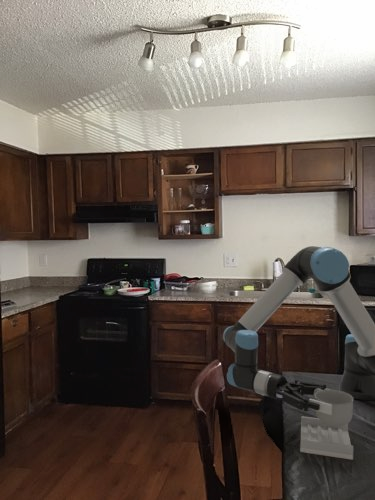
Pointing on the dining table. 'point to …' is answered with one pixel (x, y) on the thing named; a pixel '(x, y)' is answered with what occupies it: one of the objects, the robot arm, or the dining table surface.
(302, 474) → the dining table surface
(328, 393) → the teacup
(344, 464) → the dining table surface
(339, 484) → the dining table surface
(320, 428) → the drying rack
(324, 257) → the robot arm
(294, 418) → the dining table surface
